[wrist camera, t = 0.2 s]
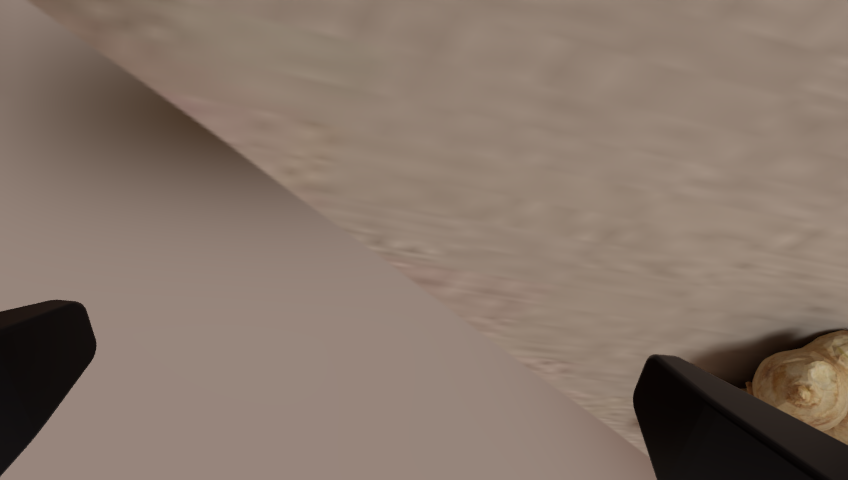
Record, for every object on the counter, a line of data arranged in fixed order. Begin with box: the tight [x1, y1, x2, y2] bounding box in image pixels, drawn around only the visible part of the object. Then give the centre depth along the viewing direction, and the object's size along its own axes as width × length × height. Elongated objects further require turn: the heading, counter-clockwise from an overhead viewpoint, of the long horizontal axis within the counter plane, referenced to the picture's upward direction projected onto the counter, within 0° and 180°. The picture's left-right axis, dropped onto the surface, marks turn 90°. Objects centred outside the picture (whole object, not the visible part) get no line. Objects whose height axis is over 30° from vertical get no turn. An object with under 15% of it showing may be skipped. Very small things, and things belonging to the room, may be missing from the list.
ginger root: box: [741, 330, 848, 445], centre depth 30 cm, size 16×16×8 cm
